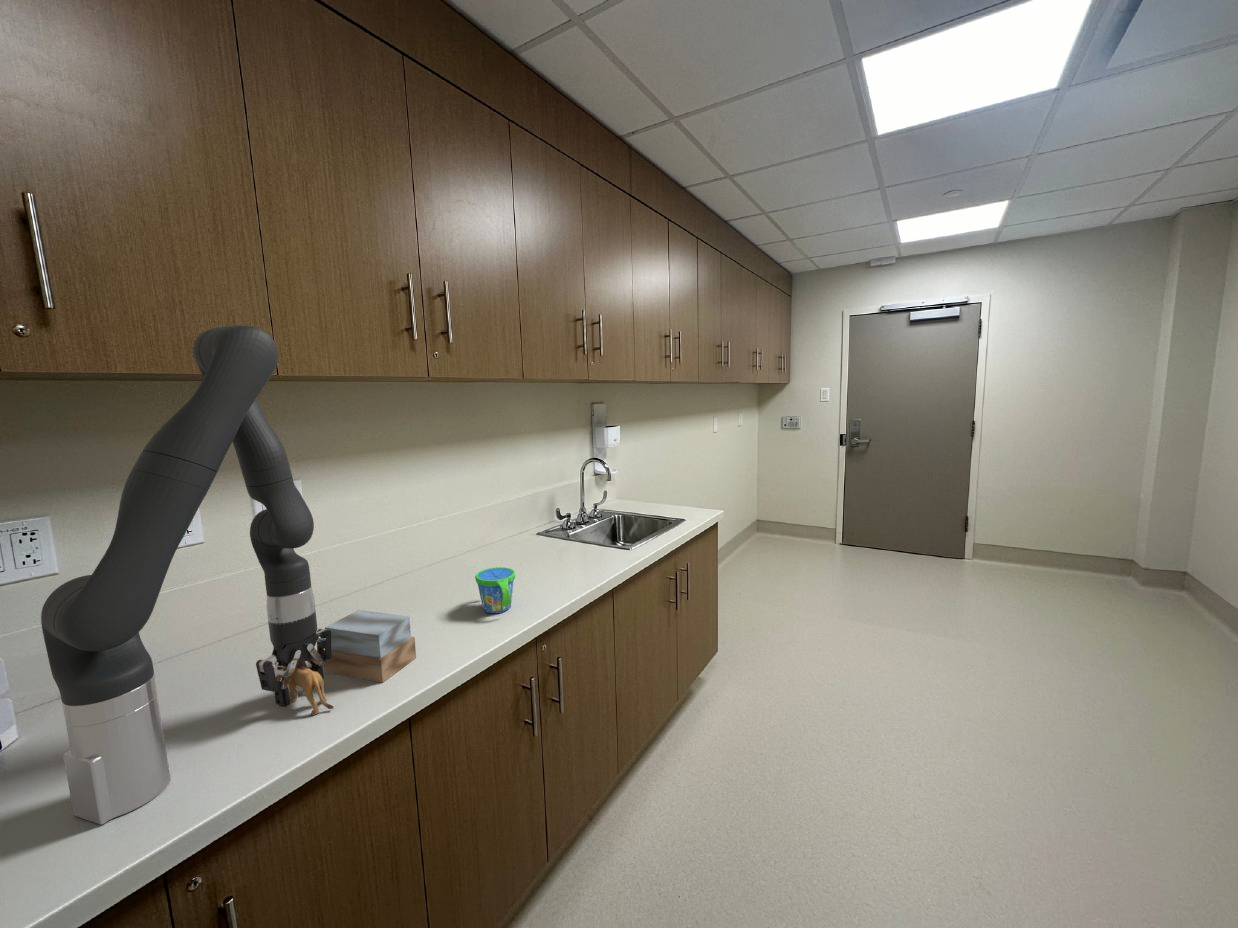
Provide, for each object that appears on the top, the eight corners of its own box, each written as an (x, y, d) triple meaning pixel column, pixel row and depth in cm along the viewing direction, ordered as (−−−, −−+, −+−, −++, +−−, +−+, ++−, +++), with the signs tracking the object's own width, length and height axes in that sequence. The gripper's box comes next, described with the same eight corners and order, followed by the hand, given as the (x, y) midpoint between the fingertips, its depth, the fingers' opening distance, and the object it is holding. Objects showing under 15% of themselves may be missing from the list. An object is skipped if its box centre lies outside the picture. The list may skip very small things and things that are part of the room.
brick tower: (383, 682, 100) (378, 636, 99) (325, 672, 104) (320, 628, 103) (416, 657, 110) (412, 615, 108) (362, 649, 114) (358, 608, 113)
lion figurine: (268, 701, 95) (263, 658, 93) (295, 686, 99) (291, 645, 98) (321, 719, 89) (315, 672, 88) (347, 702, 94) (342, 658, 93)
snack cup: (524, 615, 131) (522, 578, 129) (484, 624, 126) (482, 586, 125) (508, 595, 144) (506, 562, 143) (472, 602, 140) (470, 568, 138)
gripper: (270, 632, 85) (281, 721, 87) (339, 599, 98) (347, 677, 100) (238, 627, 87) (249, 714, 89) (310, 596, 100) (318, 672, 103)
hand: (301, 694), depth 95 cm, fingers open, 6 cm apart
